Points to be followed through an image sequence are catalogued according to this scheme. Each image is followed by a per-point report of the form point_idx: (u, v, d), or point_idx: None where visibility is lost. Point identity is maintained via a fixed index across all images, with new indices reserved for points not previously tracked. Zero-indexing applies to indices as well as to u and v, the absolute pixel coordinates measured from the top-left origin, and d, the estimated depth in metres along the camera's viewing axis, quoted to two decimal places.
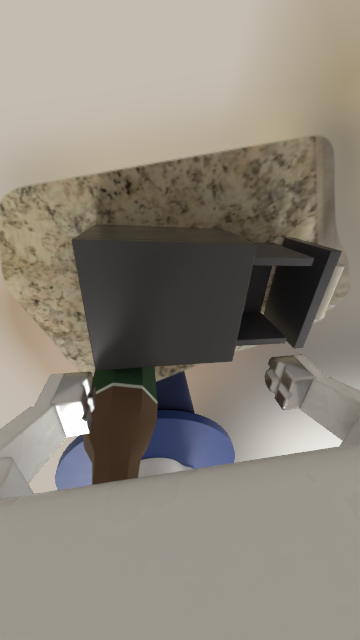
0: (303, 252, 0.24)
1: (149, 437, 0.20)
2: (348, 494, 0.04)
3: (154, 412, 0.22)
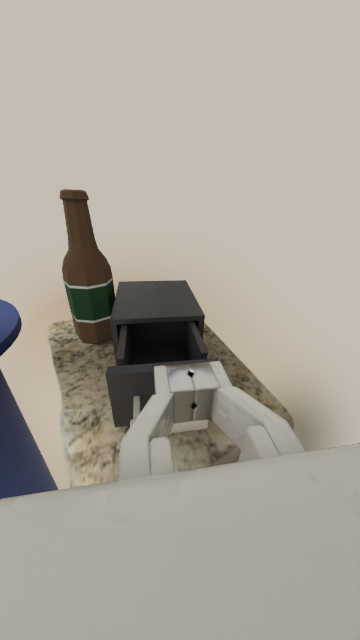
0: None
1: (84, 261, 0.33)
2: (348, 494, 0.04)
3: (89, 277, 0.34)
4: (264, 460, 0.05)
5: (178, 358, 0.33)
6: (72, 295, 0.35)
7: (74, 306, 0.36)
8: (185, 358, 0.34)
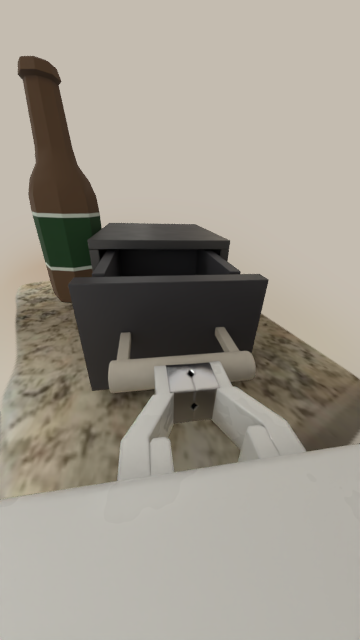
0: None
1: (56, 175, 0.23)
2: (348, 494, 0.04)
3: (64, 199, 0.24)
4: (264, 460, 0.05)
5: None
6: (42, 228, 0.25)
7: (46, 246, 0.26)
8: None
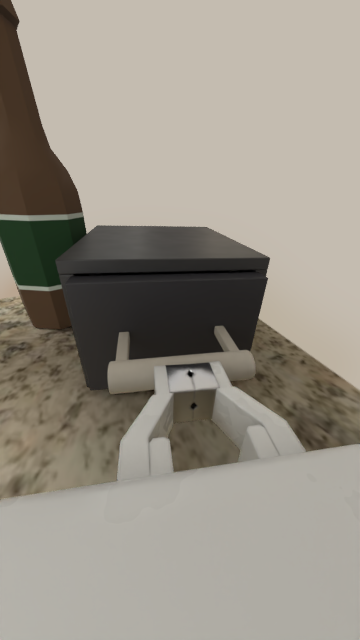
0: None
1: (17, 160, 0.16)
2: (348, 494, 0.04)
3: (30, 195, 0.17)
4: (264, 460, 0.05)
5: None
6: (2, 235, 0.18)
7: (10, 259, 0.19)
8: None
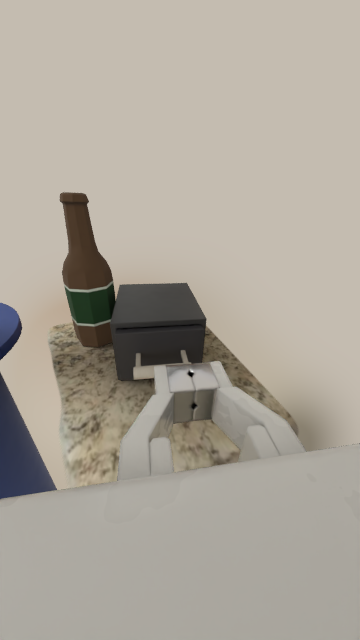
0: None
1: (84, 264, 0.33)
2: (348, 494, 0.04)
3: (89, 280, 0.33)
4: (264, 460, 0.05)
5: None
6: (72, 298, 0.35)
7: (74, 309, 0.36)
8: None
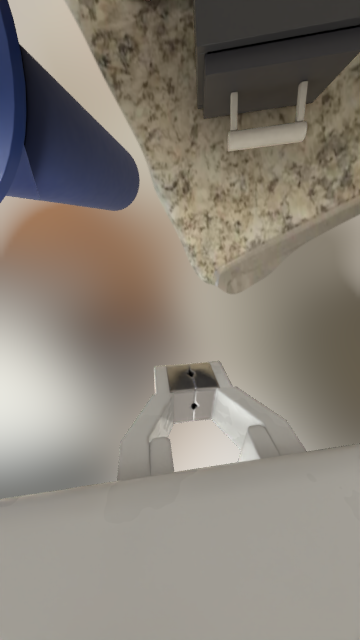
0: None
1: None
2: (348, 494, 0.04)
3: None
4: (264, 460, 0.05)
5: None
6: None
7: None
8: None
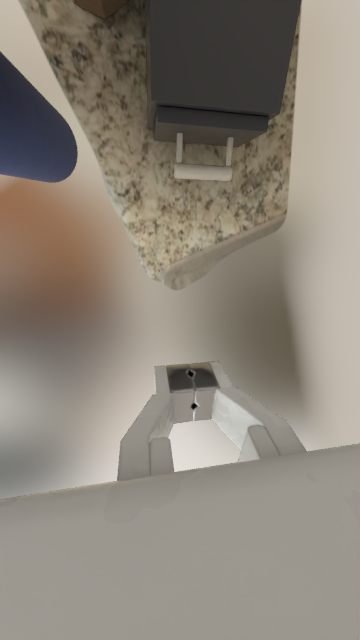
0: None
1: None
2: (348, 494, 0.04)
3: None
4: (264, 460, 0.05)
5: None
6: None
7: None
8: None
